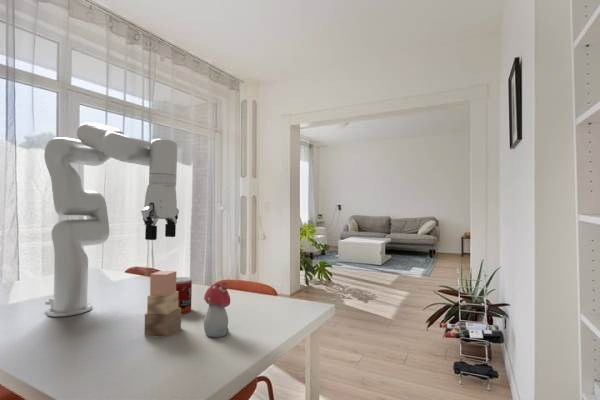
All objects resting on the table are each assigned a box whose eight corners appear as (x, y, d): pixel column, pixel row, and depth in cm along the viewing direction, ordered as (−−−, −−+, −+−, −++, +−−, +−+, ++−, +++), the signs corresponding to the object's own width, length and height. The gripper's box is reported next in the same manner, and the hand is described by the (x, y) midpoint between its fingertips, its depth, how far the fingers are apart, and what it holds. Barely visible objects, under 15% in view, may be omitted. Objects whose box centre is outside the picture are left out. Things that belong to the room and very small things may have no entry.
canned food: (183, 315, 105) (184, 282, 106) (162, 313, 107) (162, 281, 107) (195, 308, 113) (196, 277, 113) (175, 307, 115) (176, 276, 115)
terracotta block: (150, 295, 90) (150, 274, 90) (160, 291, 95) (161, 270, 95) (166, 296, 89) (166, 274, 89) (176, 291, 94) (176, 271, 94)
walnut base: (144, 335, 88) (144, 314, 89) (159, 326, 95) (159, 306, 96) (167, 337, 87) (167, 315, 88) (180, 328, 94) (181, 307, 95)
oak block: (147, 313, 89) (147, 295, 89) (159, 307, 95) (159, 290, 95) (167, 314, 88) (167, 296, 88) (178, 308, 94) (178, 291, 94)
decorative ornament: (233, 336, 88) (234, 282, 88) (210, 342, 84) (210, 285, 85) (222, 326, 96) (222, 276, 96) (200, 330, 92) (200, 279, 93)
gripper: (167, 183, 104) (166, 235, 104) (132, 178, 87) (129, 240, 87) (188, 183, 103) (187, 236, 102) (157, 178, 86) (154, 241, 85)
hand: (161, 238), depth 95 cm, fingers open, 9 cm apart
